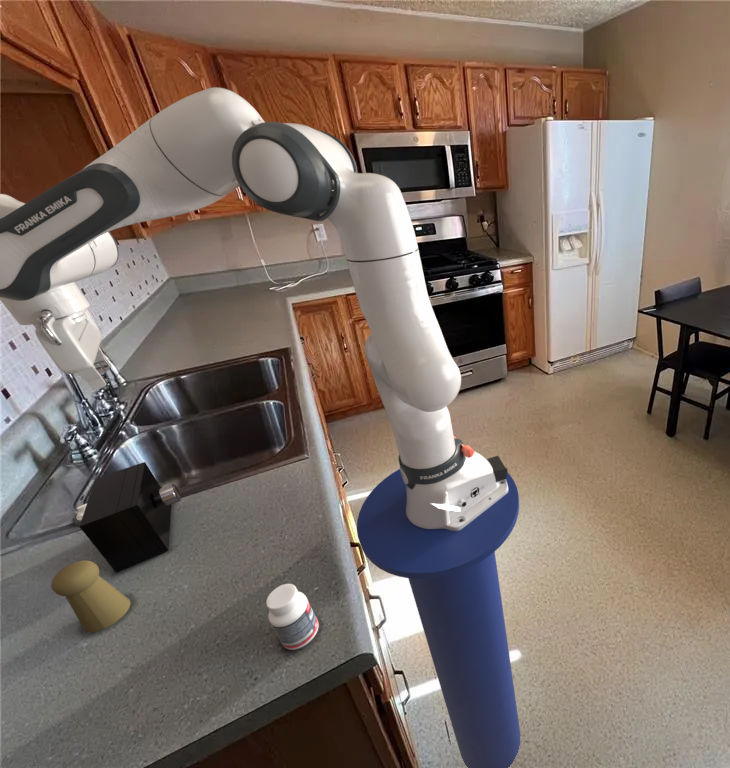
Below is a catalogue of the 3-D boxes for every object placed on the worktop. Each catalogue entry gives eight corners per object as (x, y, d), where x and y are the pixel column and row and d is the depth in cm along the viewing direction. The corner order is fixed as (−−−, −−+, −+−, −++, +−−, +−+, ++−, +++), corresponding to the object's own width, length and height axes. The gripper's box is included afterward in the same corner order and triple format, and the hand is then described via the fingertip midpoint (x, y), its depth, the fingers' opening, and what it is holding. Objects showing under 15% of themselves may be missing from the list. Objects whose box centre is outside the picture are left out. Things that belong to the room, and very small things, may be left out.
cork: (96, 604, 71) (57, 561, 65) (137, 592, 72) (103, 549, 67) (75, 638, 65) (32, 593, 60) (120, 624, 67) (81, 580, 62)
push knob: (181, 493, 87) (173, 480, 85) (181, 504, 84) (172, 489, 82) (150, 505, 84) (141, 491, 82) (149, 516, 81) (139, 502, 80)
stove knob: (75, 513, 92) (67, 504, 90) (117, 496, 96) (110, 487, 94) (73, 531, 87) (65, 521, 85) (118, 512, 91) (111, 503, 89)
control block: (171, 504, 92) (145, 461, 86) (168, 550, 80) (137, 504, 74) (126, 521, 88) (95, 478, 82) (116, 573, 76) (79, 526, 71)
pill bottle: (324, 631, 63) (306, 594, 59) (289, 658, 60) (268, 621, 56) (311, 609, 67) (293, 573, 62) (277, 634, 63) (256, 597, 59)
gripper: (65, 311, 61) (122, 390, 68) (81, 289, 76) (126, 356, 83) (7, 325, 58) (73, 406, 65) (35, 300, 73) (86, 368, 80)
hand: (103, 378), depth 74 cm, fingers open, 8 cm apart
